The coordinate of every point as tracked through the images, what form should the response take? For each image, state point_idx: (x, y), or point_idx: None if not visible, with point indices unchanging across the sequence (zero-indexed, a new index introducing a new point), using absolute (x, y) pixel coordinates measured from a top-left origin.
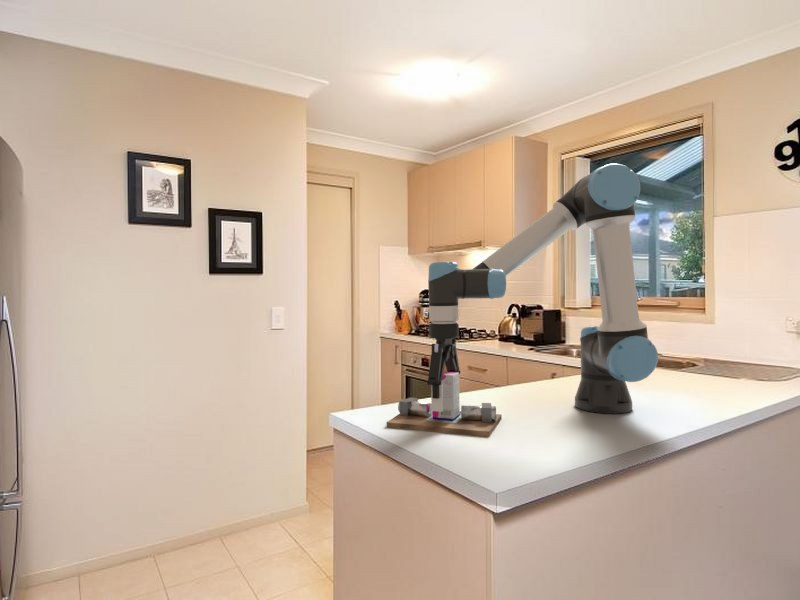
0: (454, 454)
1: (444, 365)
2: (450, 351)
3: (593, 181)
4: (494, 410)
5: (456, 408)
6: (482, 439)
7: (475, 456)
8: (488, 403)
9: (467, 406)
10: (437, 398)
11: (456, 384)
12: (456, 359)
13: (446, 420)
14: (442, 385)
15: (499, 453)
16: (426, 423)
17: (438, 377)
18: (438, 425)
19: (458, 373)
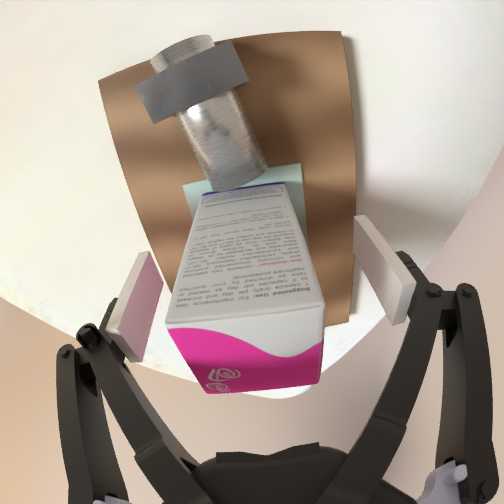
0: (477, 104)
1: (389, 388)
2: (215, 497)
3: None
4: (204, 40)
5: (249, 200)
6: (367, 50)
7: (473, 59)
8: (148, 92)
9: (237, 157)
10: (401, 254)
11: (240, 265)
12: (77, 405)
13: None
14: (402, 282)
15: (440, 7)
16: (332, 246)
17: (474, 307)
18: (340, 207)
19: (173, 319)
